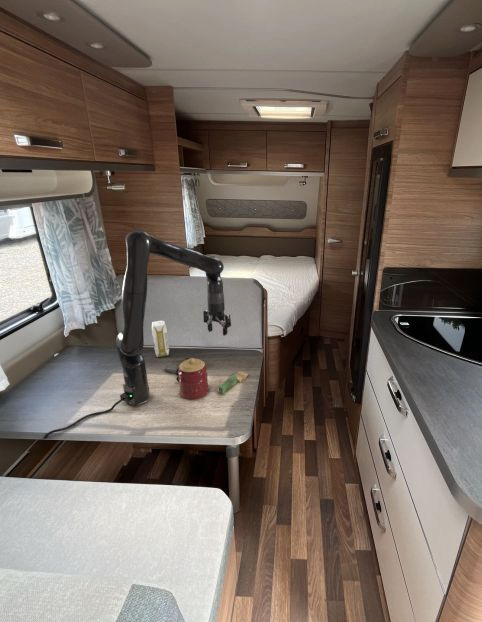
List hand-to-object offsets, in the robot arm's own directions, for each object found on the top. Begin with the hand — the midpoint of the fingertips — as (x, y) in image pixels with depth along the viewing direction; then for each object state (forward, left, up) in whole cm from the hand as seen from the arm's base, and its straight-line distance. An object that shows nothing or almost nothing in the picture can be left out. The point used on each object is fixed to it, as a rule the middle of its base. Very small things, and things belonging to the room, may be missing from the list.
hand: (217, 333), depth 159 cm
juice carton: (+6, +45, -25) cm, 52 cm away
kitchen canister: (-15, +4, -25) cm, 30 cm away
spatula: (-1, -8, -25) cm, 26 cm away
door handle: (-3, +22, -25) cm, 34 cm away
